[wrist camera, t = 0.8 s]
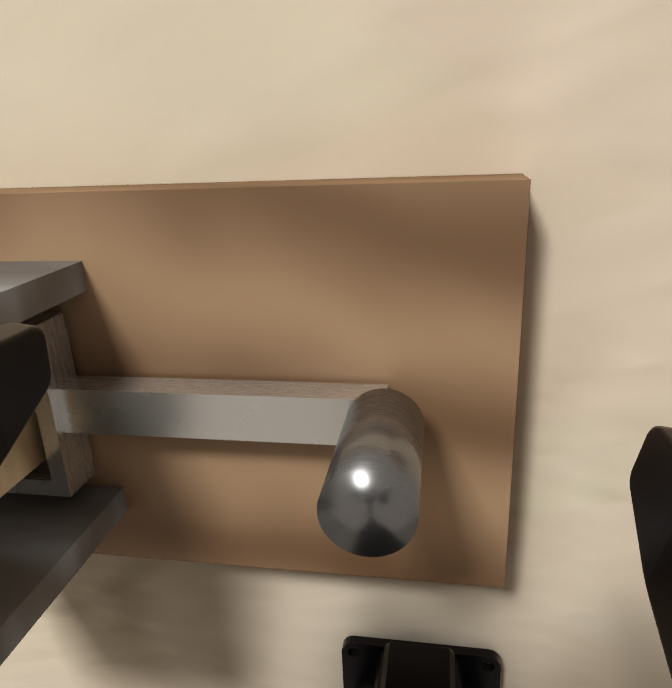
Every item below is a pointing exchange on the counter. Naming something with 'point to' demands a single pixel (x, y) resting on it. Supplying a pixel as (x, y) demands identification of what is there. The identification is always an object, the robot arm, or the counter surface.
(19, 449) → the maple block
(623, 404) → the counter surface
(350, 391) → the sled
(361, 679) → the robot arm
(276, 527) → the tunnel deck
